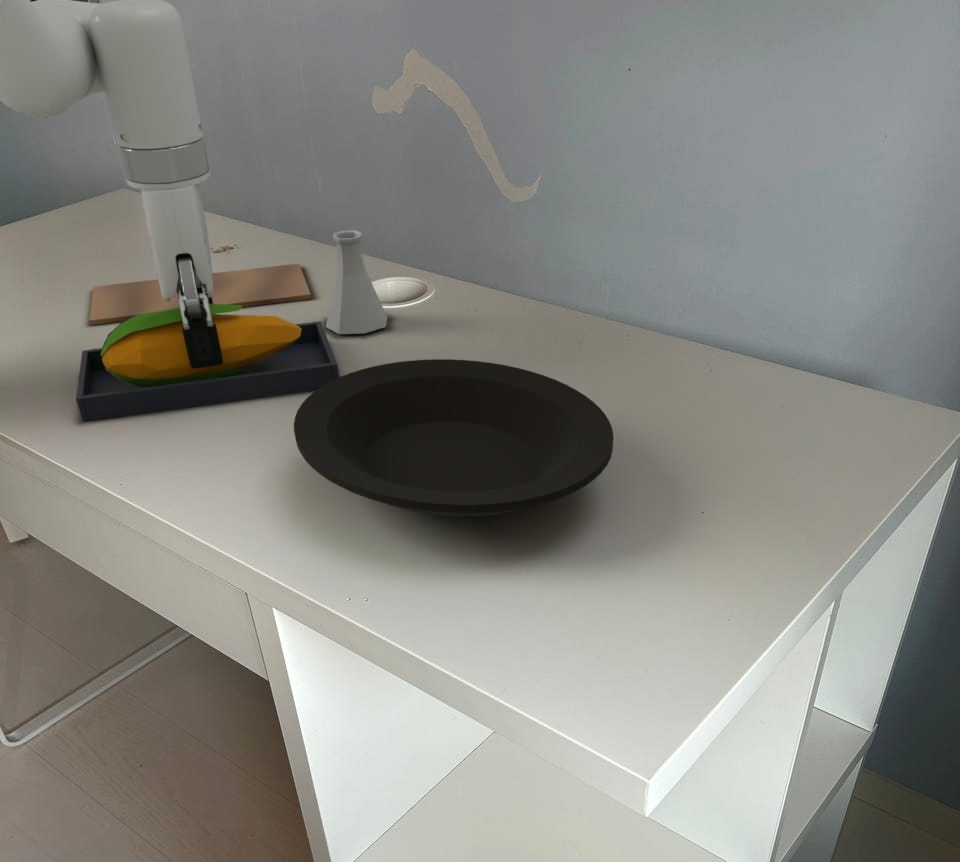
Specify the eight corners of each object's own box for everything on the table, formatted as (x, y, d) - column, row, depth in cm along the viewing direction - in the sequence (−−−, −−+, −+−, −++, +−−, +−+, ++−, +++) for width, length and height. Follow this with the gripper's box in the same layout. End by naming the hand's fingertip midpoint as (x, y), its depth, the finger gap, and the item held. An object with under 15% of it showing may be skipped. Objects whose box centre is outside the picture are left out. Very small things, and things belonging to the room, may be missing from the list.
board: (90, 325, 115) (88, 320, 115) (94, 291, 124) (93, 286, 124) (311, 299, 120) (310, 294, 119) (299, 267, 129) (299, 263, 128)
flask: (319, 318, 115) (307, 229, 108) (379, 309, 116) (371, 221, 110) (333, 340, 109) (321, 248, 103) (395, 330, 111) (388, 239, 105)
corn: (88, 304, 97) (288, 276, 102) (108, 375, 102) (298, 345, 107) (93, 336, 92) (303, 305, 97) (114, 409, 97) (312, 375, 102)
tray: (82, 421, 95) (75, 398, 94) (88, 372, 105) (82, 350, 103) (339, 386, 100) (337, 364, 98) (323, 342, 109) (320, 320, 108)
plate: (241, 484, 85) (229, 424, 82) (435, 391, 98) (432, 336, 95) (479, 611, 70) (476, 546, 66) (669, 481, 83) (676, 421, 80)
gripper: (124, 145, 95) (166, 325, 106) (120, 191, 82) (169, 391, 93) (203, 138, 96) (236, 316, 108) (212, 182, 83) (249, 380, 94)
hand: (205, 349), depth 100 cm, fingers closed on corn, 6 cm apart
